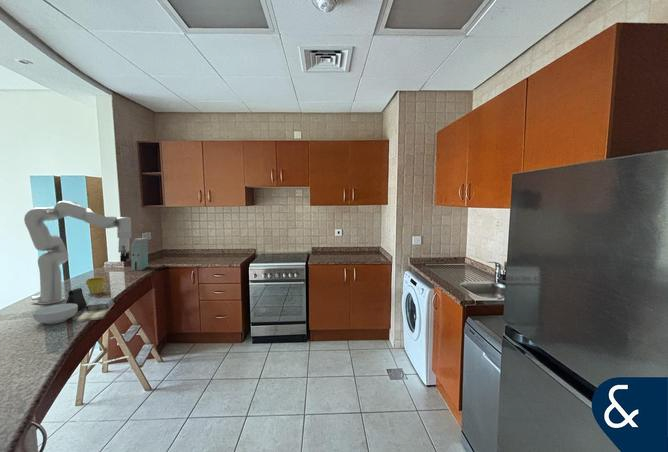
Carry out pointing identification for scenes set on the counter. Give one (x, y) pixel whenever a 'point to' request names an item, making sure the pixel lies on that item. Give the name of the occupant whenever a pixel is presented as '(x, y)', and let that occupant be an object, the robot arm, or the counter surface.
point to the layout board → (94, 314)
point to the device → (139, 253)
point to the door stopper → (77, 298)
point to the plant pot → (95, 285)
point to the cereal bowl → (55, 313)
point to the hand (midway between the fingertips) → (124, 260)
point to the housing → (99, 304)
